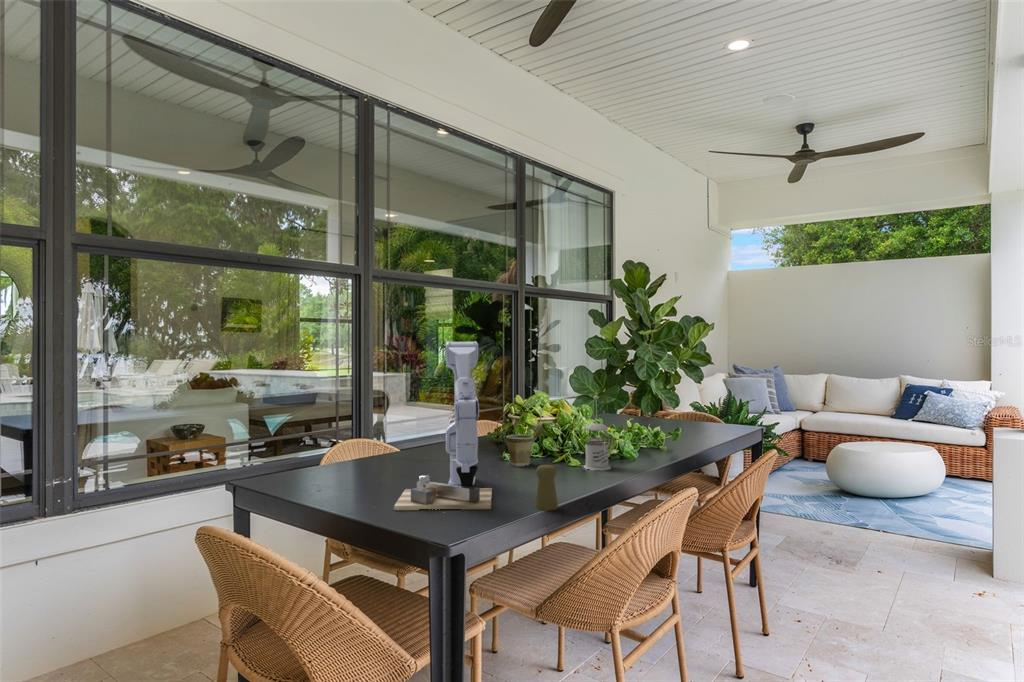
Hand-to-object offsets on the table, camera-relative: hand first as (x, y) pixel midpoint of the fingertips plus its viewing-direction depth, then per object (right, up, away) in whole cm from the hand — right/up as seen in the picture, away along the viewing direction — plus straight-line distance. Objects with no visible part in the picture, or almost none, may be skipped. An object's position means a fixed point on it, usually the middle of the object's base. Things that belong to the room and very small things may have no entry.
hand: (467, 493), depth 164 cm
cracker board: (-6, -2, +2) cm, 7 cm away
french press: (+42, -3, +46) cm, 62 cm away
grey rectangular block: (-12, -1, -4) cm, 12 cm away
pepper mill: (+21, -2, -5) cm, 22 cm away
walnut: (-10, -1, -1) cm, 10 cm away
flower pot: (+15, -3, +53) cm, 56 cm away
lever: (-5, -1, 0) cm, 5 cm away
